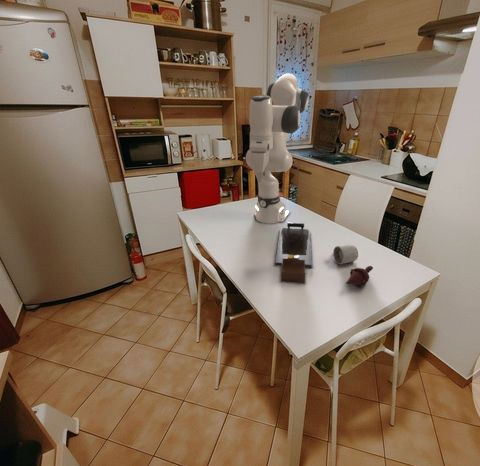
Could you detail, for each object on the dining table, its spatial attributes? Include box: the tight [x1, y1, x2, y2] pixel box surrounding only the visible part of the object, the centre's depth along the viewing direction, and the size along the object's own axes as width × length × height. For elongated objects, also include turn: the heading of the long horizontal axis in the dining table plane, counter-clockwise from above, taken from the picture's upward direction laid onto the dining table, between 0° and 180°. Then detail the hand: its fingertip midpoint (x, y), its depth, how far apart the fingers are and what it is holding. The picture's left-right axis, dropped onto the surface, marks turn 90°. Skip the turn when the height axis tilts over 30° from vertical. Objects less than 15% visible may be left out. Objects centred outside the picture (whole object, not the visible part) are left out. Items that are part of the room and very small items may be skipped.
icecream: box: [346, 265, 374, 287], centre depth 98 cm, size 7×7×15 cm
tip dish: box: [282, 222, 309, 255], centre depth 104 cm, size 15×10×3 cm
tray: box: [274, 228, 313, 269], centre depth 123 cm, size 31×15×2 cm, turn 174°
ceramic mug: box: [332, 244, 359, 265], centre depth 113 cm, size 11×8×8 cm
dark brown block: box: [280, 259, 306, 284], centre depth 103 cm, size 9×9×5 cm
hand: (261, 178), depth 107 cm, fingers open, 8 cm apart
